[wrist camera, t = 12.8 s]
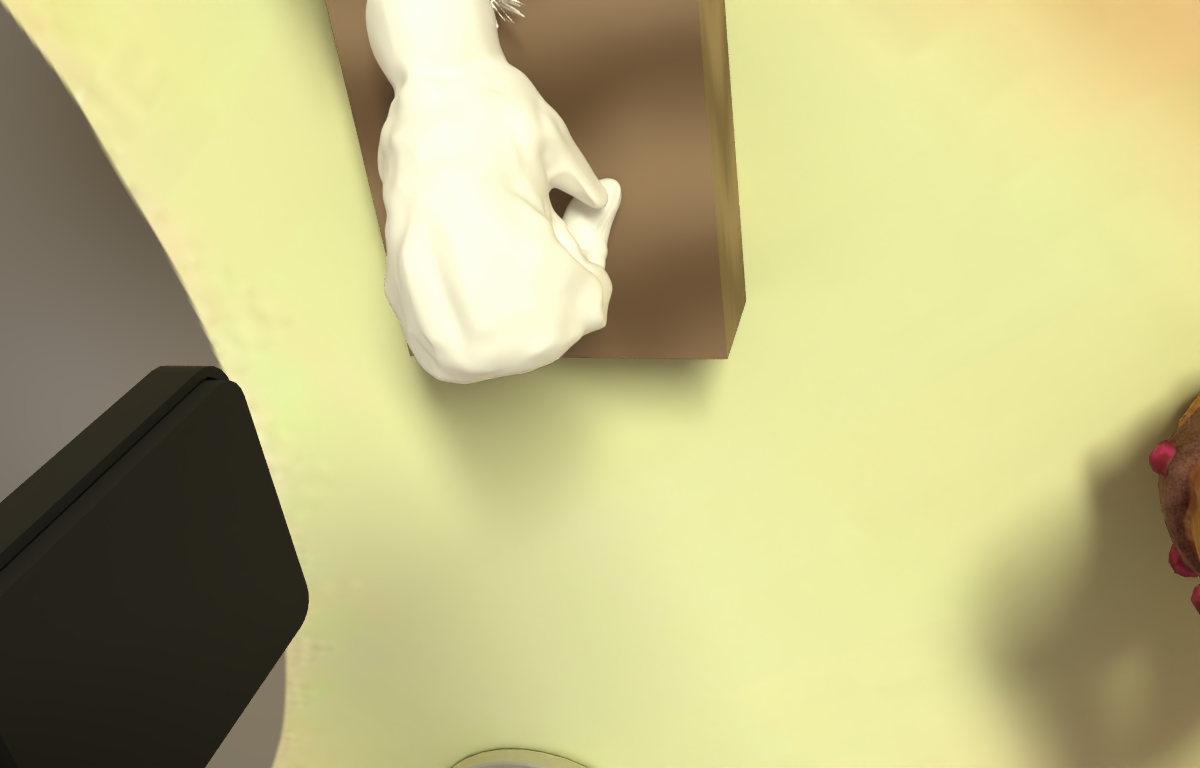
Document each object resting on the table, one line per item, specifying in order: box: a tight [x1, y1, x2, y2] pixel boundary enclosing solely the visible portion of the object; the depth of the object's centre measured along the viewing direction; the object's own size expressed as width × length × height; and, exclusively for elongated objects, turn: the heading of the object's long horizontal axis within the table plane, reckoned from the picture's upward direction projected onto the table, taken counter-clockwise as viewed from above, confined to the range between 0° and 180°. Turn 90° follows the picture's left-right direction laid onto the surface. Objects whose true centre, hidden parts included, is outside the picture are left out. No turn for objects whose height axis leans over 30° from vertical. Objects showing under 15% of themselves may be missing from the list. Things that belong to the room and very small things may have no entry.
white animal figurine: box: [366, 0, 621, 384], centre depth 34 cm, size 6×8×12 cm
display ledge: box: [325, 0, 746, 359], centre depth 37 cm, size 18×12×8 cm, turn 8°
